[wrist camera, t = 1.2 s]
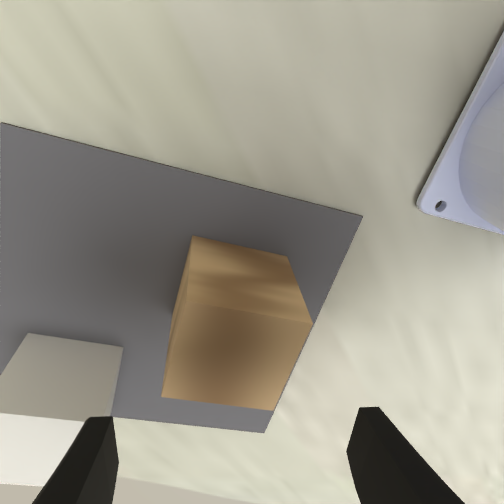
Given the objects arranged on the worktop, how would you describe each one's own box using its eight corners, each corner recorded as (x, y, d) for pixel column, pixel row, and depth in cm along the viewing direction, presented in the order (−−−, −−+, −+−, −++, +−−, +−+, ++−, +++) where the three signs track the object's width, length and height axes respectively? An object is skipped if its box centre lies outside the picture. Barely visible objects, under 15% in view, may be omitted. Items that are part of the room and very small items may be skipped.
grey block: (123, 347, 19) (101, 423, 15) (112, 407, 21) (89, 489, 17) (27, 333, 18) (-23, 410, 14) (25, 397, 20) (-21, 482, 16)
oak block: (286, 256, 18) (313, 323, 13) (258, 330, 20) (273, 410, 15) (192, 235, 17) (186, 300, 12) (172, 315, 19) (161, 397, 14)
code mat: (362, 215, 17) (363, 217, 17) (263, 431, 24) (264, 433, 23) (1, 122, 14) (-1, 122, 14) (0, 402, 20) (-1, 404, 20)
